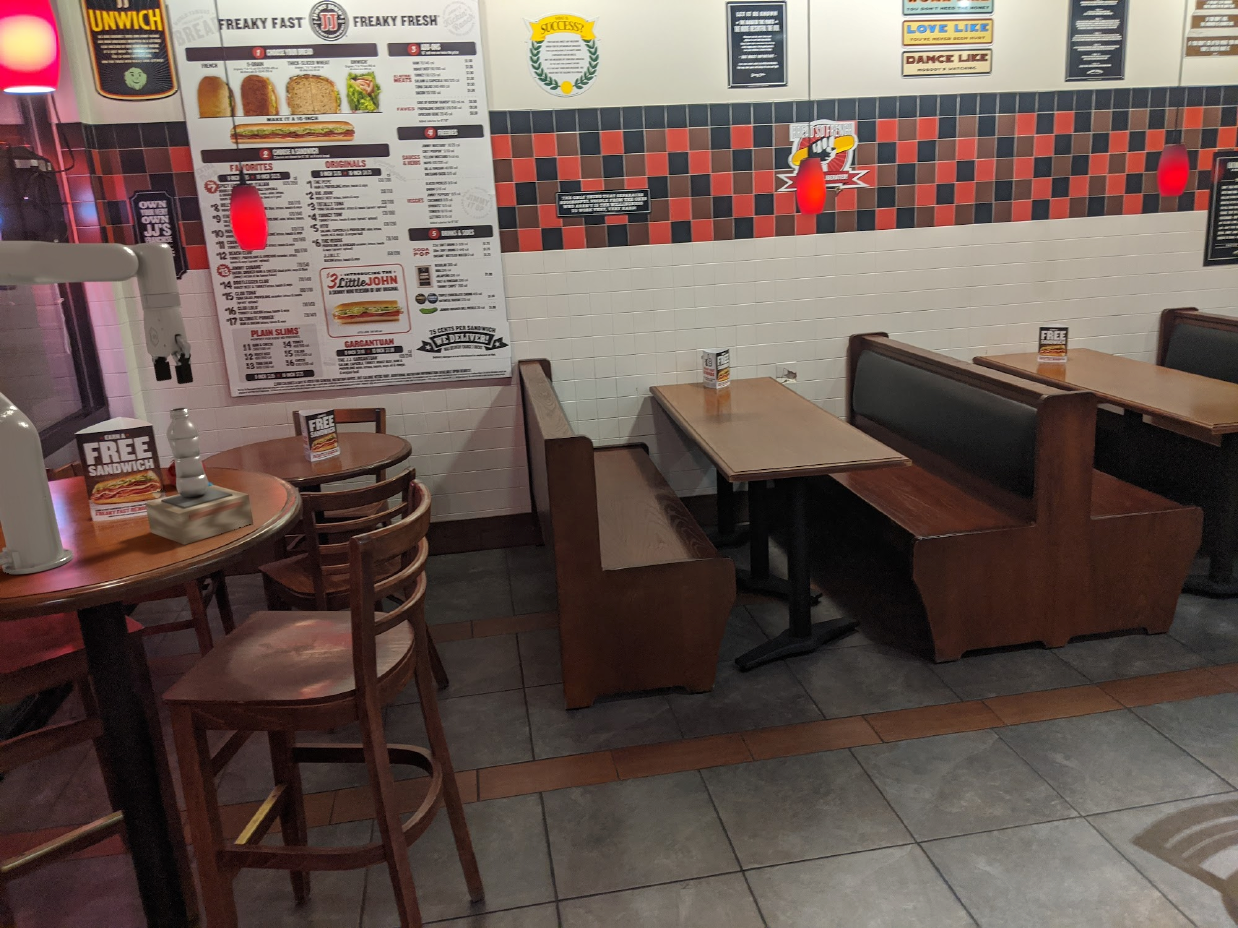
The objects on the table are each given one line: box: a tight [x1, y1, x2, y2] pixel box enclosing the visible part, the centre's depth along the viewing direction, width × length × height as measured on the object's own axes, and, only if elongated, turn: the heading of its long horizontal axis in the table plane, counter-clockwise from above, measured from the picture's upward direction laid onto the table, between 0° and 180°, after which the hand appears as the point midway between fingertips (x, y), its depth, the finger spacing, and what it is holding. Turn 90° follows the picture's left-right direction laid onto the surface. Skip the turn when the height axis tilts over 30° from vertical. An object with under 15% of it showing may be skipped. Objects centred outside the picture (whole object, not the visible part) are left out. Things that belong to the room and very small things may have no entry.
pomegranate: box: [165, 456, 207, 487], centre depth 248 cm, size 10×10×9 cm
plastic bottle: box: [165, 407, 210, 497], centre depth 205 cm, size 6×7×20 cm
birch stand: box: [144, 484, 254, 545], centre depth 208 cm, size 16×16×7 cm
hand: (174, 381), depth 200 cm, fingers open, 9 cm apart
